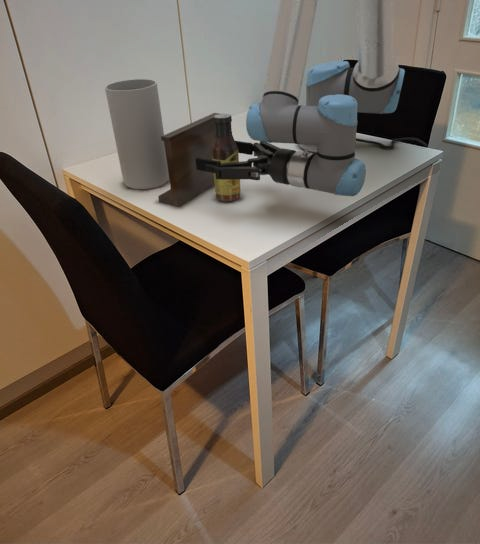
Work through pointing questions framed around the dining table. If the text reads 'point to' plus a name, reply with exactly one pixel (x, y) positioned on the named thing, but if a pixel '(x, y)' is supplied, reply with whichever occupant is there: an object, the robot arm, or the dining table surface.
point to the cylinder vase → (138, 132)
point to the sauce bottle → (225, 157)
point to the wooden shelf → (188, 160)
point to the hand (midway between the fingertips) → (213, 154)
